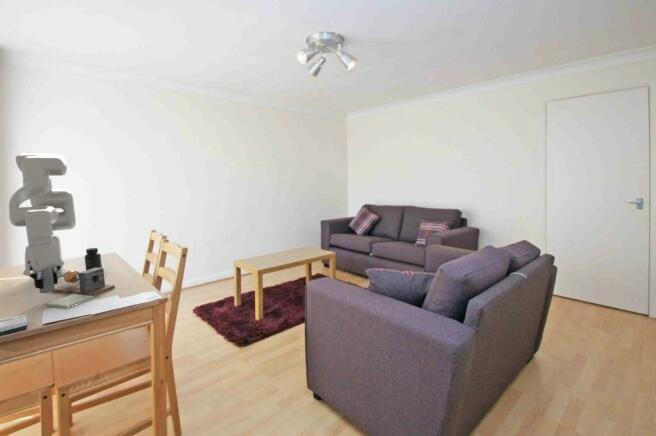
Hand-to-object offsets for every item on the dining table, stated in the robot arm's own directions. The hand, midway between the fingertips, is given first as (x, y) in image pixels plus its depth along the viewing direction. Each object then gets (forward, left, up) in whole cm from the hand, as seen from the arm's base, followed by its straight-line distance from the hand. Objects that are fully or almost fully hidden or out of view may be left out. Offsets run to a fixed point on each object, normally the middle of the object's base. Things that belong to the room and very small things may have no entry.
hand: (46, 285), depth 130 cm
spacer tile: (+11, 0, -6) cm, 12 cm away
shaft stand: (+3, +12, -6) cm, 14 cm away
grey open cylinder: (0, 0, -3) cm, 3 cm away
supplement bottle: (-18, +35, -6) cm, 40 cm away
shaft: (+1, +12, -3) cm, 13 cm away
